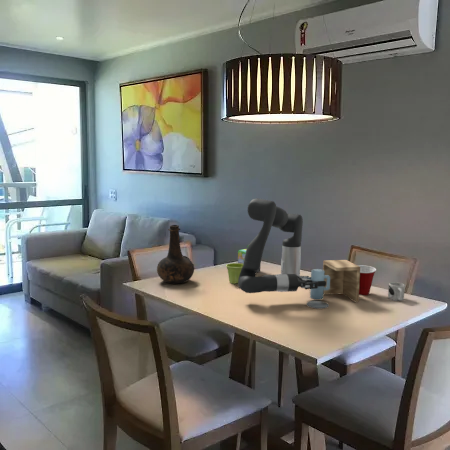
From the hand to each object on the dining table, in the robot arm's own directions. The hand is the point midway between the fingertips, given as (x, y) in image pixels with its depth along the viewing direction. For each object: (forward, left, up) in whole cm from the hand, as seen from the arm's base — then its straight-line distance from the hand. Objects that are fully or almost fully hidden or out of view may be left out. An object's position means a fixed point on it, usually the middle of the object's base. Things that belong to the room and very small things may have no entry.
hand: (322, 281), depth 213 cm
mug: (+33, +2, -9) cm, 35 cm away
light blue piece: (-1, 0, -7) cm, 7 cm away
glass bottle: (-66, +29, -9) cm, 73 cm away
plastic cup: (+21, +11, -9) cm, 25 cm away
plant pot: (-37, +29, -9) cm, 48 cm away
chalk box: (-29, +53, -9) cm, 61 cm away
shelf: (+9, +4, -8) cm, 13 cm away
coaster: (-3, -7, -8) cm, 11 cm away
